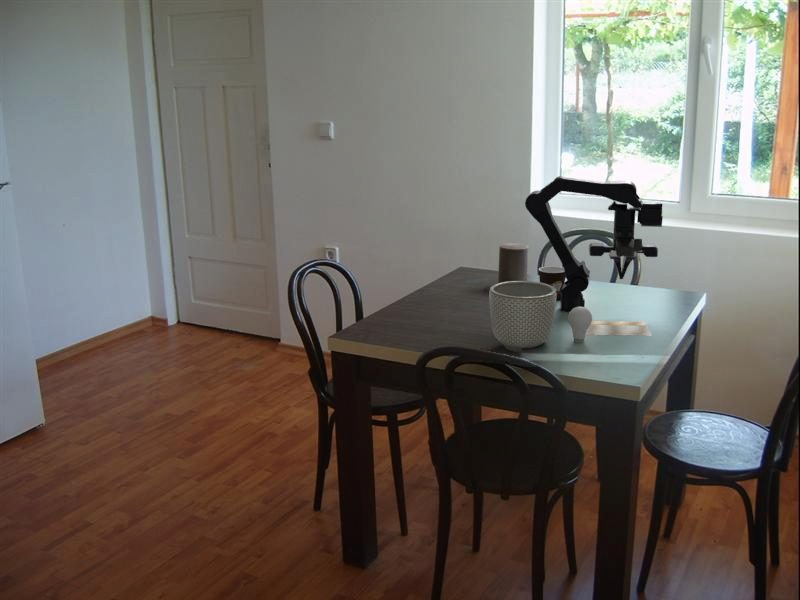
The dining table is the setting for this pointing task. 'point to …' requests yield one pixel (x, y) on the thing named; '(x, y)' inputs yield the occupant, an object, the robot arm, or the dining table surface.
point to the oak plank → (615, 323)
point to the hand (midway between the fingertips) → (621, 278)
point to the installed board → (618, 330)
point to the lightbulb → (579, 322)
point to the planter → (522, 313)
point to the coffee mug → (553, 278)
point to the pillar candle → (513, 262)
